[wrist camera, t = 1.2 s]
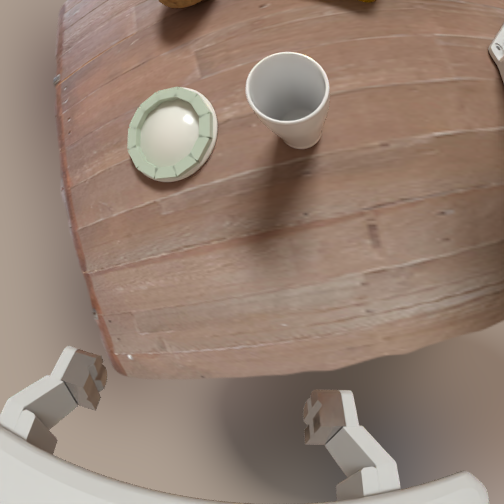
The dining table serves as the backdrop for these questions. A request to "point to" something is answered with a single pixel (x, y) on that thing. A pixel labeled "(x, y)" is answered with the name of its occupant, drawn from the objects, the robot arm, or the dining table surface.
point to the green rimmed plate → (172, 134)
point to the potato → (179, 3)
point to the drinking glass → (290, 97)
